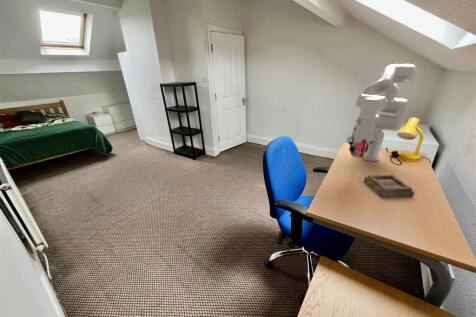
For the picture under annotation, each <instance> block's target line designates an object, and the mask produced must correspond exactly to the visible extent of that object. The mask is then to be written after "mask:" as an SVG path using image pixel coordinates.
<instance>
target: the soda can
mask: <svg viewBox="0 0 476 317" xmlns="http://www.w3.org/2000/svg"><path fill="white" fill-rule="evenodd" d="M363 139H364V140H362V141H360V143H356V144H355V145H354V146H355V148H354V152H353V153H351V152H350V156H352V157H353V158H358V159H362V158H361V157H363V156H364V154H365V151H366V147H367V143H368V141H367V140H366V138H363ZM353 143H354V142H353Z"/></svg>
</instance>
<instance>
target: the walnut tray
mask: <svg viewBox="0 0 476 317" xmlns="http://www.w3.org/2000/svg"><path fill="white" fill-rule="evenodd" d="M363 182H364V183H365V184H366V185H367V186H369V188H370V189H372V190H374V192H375V193H376V194H377V195H379V196H380V197H381V198H382V199H383V198H384V199H389V198H392V199H393V198H411V197H414V195H415V191H414V190H413V188H412V187H411V186H410V185H408V184H406V183H405V182H404V181H402V180H401V179H399V177H397V176H395V175H394V174H382V175H381V174H377V175H368V176H365V177H364V180H363Z"/></svg>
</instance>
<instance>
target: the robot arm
mask: <svg viewBox="0 0 476 317" xmlns="http://www.w3.org/2000/svg"><path fill="white" fill-rule="evenodd" d="M418 71H419V70H418V68H417V67H416V65H415V64H411V63H402V64H401V63H400V64H399V63H398V64H397V63H394V64H390V65H387V66H386V67H385V68H384V69H383V71H382V72H381V74H380V76H379V78H378V80H377V81H374V82H373V83H370V84H369V85H367V86H365V87H364V88H362V90H361V92H360V93H359V95H358V96H357V99H356V101H355V105H356V107H357V108H358V109H360V110H359V115H358V118H357V119H356V120H355V124H354V127H353V129H352V131H351V132H352V133H351V135H350V136H348V137H346V141H347V143H348V144H349V148H348V150H349V153H350V154H351V153H353V152H354V148H355V146H354V145H355V144H356V143H360V141H362V140H364V139H363V138H366V140H367V141H368V143H367V147H366V151H365V154H364V156H363V157H361V158H360V159H363V160H365V161H369V162H378V161H380V160H381V157H380V156H379V154H380V151H381V148H382V145H383V142H384V138H385V133H384V131H391V132H398V131H400V129H401V128H402V127H403V123H404V121H405V118H406V116H407V111H408V110H409V106H410V102H409V100H408V99H407V98H406V99H405V98H398V95H399V92H400V88H399V86H398V85H397V84H398V83H401V84H411V83H413V82H415V80H416V79H417V77H418ZM377 94H381V95H377ZM377 111H378V112H379V113H378V112H377ZM380 112H381V113H380ZM382 113H384V114H382ZM385 113H387V114H385ZM391 114H394V115H391ZM353 142H354V143H353Z"/></svg>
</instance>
